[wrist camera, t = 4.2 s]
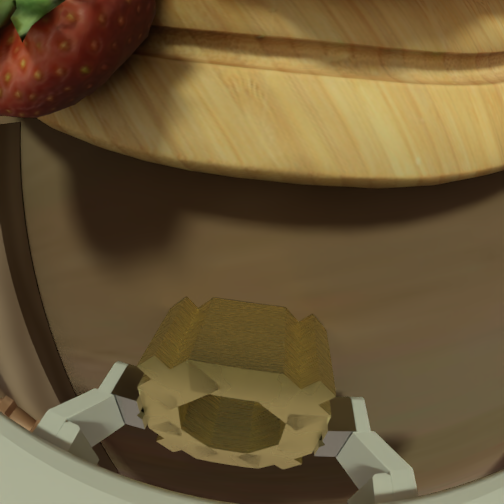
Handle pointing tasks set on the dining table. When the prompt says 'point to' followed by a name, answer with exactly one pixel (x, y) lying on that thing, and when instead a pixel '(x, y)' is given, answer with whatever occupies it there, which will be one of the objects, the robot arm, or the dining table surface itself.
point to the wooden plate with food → (268, 85)
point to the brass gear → (238, 383)
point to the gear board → (25, 312)
